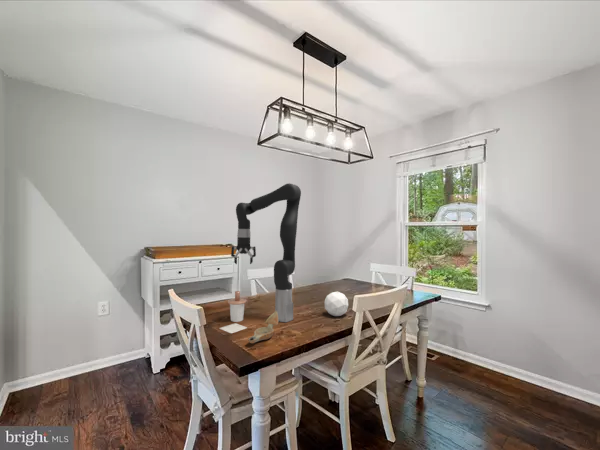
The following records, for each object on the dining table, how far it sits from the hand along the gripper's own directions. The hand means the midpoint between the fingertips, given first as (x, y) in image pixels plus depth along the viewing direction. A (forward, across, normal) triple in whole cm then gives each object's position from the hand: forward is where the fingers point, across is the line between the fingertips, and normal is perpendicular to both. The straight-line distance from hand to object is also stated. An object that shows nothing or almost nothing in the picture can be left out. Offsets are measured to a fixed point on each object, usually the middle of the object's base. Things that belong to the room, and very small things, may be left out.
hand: (243, 263), depth 164 cm
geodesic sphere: (+29, -55, +8) cm, 63 cm away
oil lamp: (+29, -13, +38) cm, 50 cm away
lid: (+19, +2, +12) cm, 23 cm away
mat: (+29, +2, +25) cm, 38 cm away
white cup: (+29, +2, +12) cm, 32 cm away
